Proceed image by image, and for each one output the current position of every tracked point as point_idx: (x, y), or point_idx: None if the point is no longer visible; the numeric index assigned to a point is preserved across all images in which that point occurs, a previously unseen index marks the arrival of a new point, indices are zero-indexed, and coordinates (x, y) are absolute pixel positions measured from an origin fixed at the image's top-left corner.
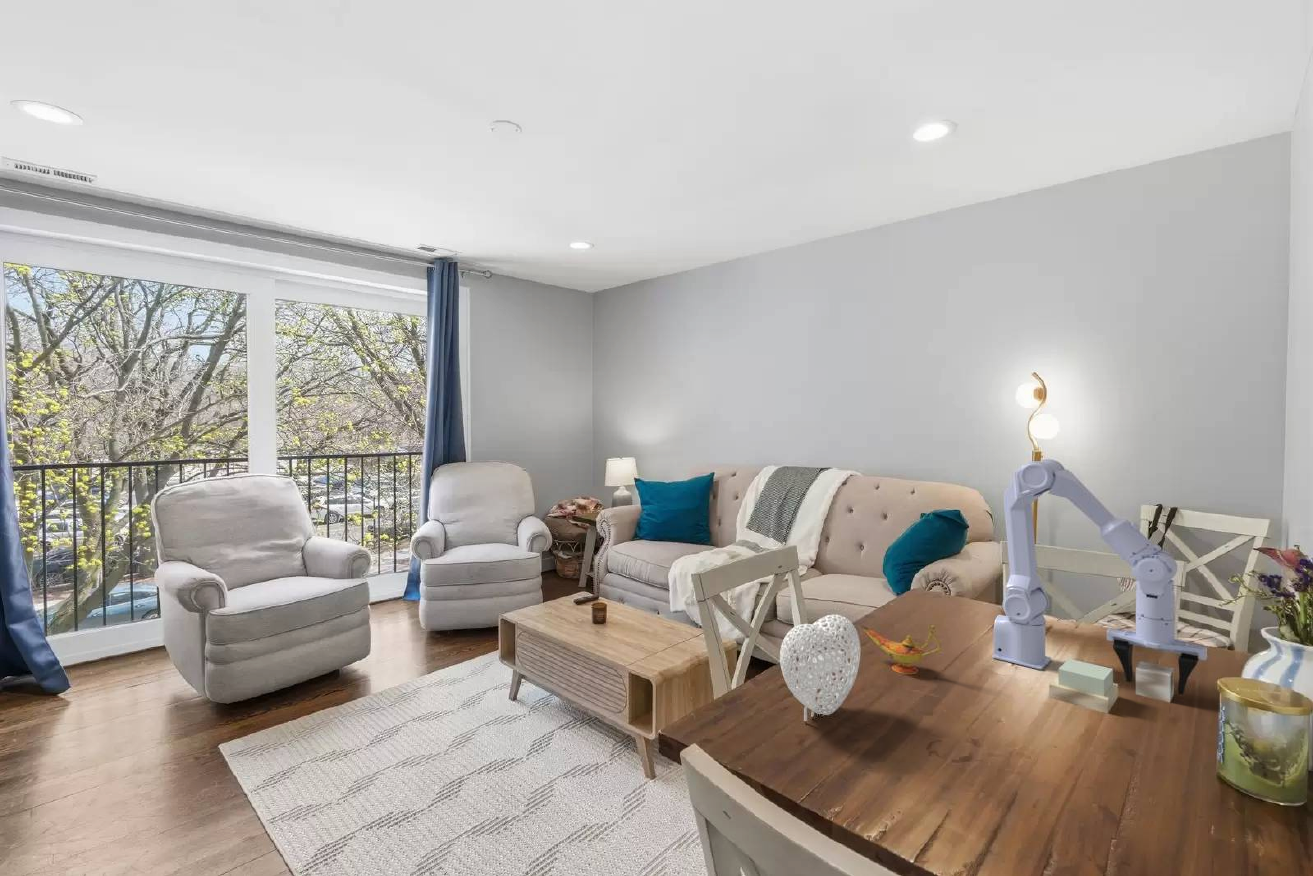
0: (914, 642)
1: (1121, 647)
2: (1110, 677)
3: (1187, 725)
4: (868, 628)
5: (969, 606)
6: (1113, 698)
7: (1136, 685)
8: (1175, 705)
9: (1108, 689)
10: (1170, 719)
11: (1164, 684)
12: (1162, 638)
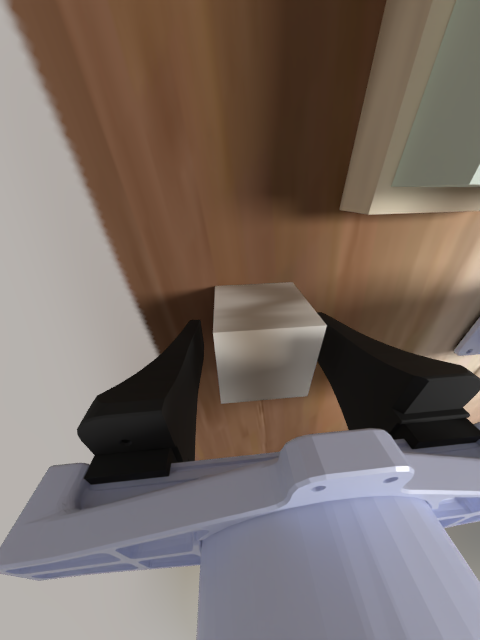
0: None
1: (445, 389)
2: (475, 97)
3: (109, 81)
4: None
5: None
6: (381, 92)
7: (299, 293)
8: (200, 276)
9: (445, 45)
10: (174, 105)
11: (229, 311)
12: (278, 618)
